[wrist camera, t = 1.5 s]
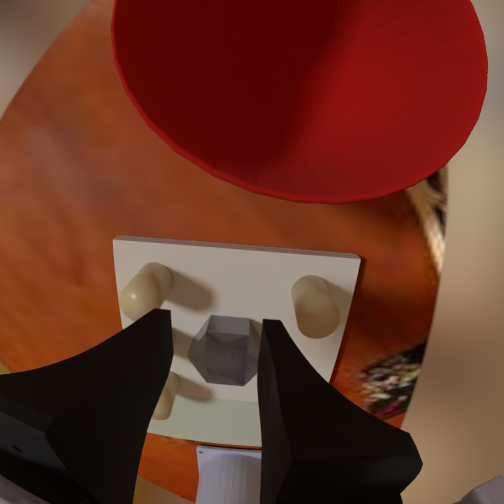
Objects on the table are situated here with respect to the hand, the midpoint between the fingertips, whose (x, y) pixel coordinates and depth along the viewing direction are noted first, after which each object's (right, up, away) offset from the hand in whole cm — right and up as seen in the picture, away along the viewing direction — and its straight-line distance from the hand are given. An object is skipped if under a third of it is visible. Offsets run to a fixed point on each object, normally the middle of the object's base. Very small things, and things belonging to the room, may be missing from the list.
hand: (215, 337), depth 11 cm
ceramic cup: (+4, +16, +5) cm, 17 cm away
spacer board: (-1, -6, +12) cm, 13 cm away
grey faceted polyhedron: (0, -3, +10) cm, 11 cm away
